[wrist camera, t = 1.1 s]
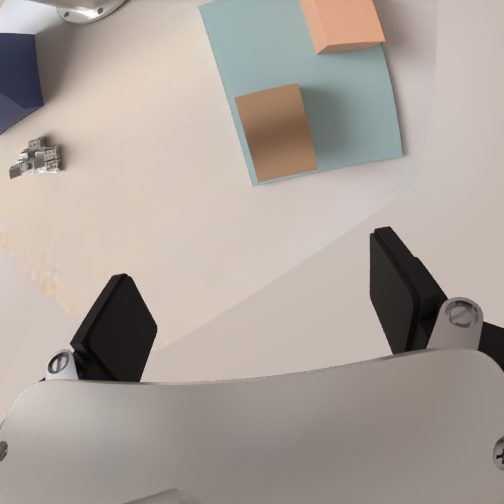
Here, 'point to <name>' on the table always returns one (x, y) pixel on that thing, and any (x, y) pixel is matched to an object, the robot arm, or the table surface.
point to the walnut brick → (277, 132)
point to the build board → (305, 81)
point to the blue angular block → (18, 79)
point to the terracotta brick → (342, 24)
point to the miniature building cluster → (37, 160)
